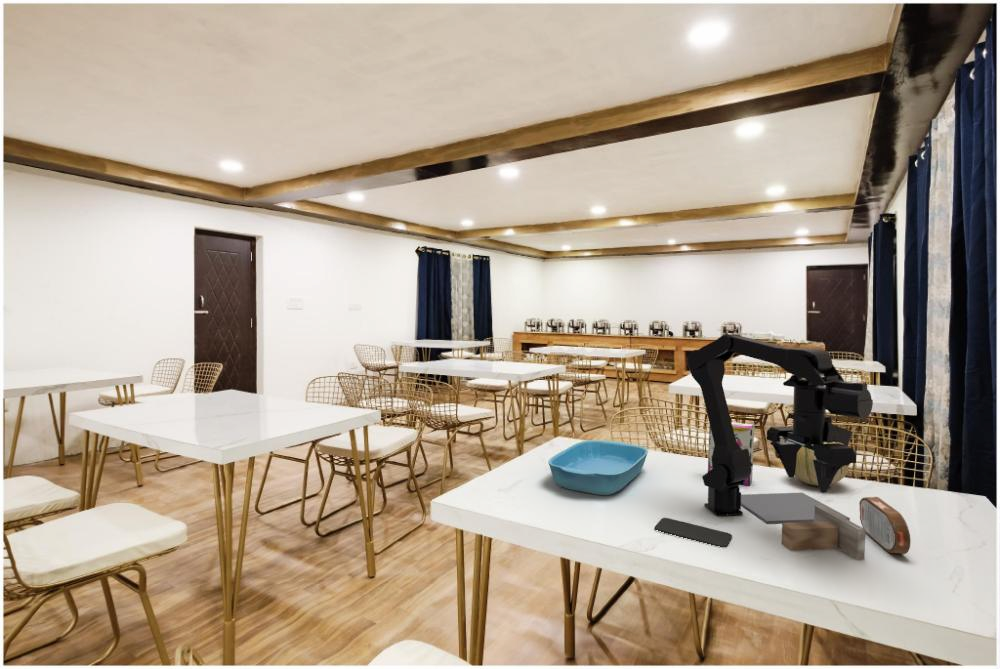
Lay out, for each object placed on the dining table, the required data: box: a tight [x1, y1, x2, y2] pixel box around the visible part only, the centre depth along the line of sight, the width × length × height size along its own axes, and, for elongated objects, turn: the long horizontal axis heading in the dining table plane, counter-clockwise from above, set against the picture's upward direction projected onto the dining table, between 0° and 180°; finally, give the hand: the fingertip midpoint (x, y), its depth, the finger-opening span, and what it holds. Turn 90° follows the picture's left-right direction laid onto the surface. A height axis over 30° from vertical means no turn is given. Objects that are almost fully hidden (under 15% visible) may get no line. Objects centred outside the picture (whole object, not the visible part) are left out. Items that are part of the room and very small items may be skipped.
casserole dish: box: [547, 439, 649, 496], centre depth 146 cm, size 37×22×7 cm, turn 149°
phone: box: [654, 517, 733, 548], centre depth 111 cm, size 7×1×15 cm
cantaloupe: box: [794, 442, 850, 487], centre depth 140 cm, size 15×15×15 cm
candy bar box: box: [707, 421, 755, 487], centre depth 143 cm, size 11×5×16 cm, turn 58°
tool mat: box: [741, 492, 851, 525], centre depth 124 cm, size 20×16×1 cm
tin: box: [859, 496, 912, 555], centre depth 106 cm, size 15×3×8 cm, turn 168°
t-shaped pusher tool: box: [780, 505, 867, 561], centre depth 104 cm, size 12×12×6 cm
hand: (806, 484), depth 105 cm, fingers open, 9 cm apart
